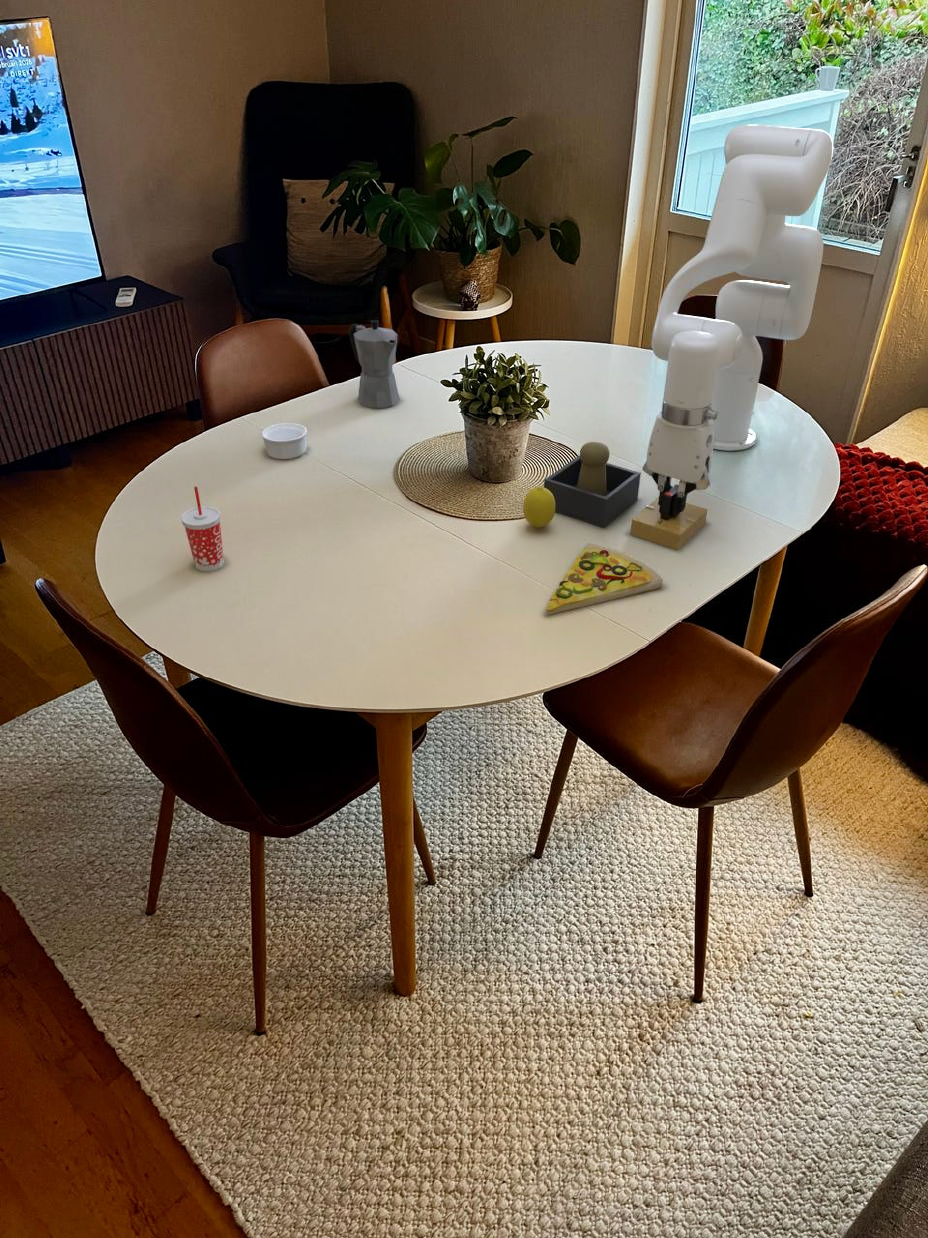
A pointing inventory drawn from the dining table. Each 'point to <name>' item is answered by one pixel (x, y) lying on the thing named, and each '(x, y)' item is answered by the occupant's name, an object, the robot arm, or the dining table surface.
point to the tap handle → (668, 503)
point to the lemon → (539, 507)
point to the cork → (593, 468)
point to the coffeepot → (375, 364)
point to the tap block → (668, 525)
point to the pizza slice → (602, 579)
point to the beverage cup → (204, 536)
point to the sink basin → (589, 504)
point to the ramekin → (285, 440)
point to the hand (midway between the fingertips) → (670, 511)
